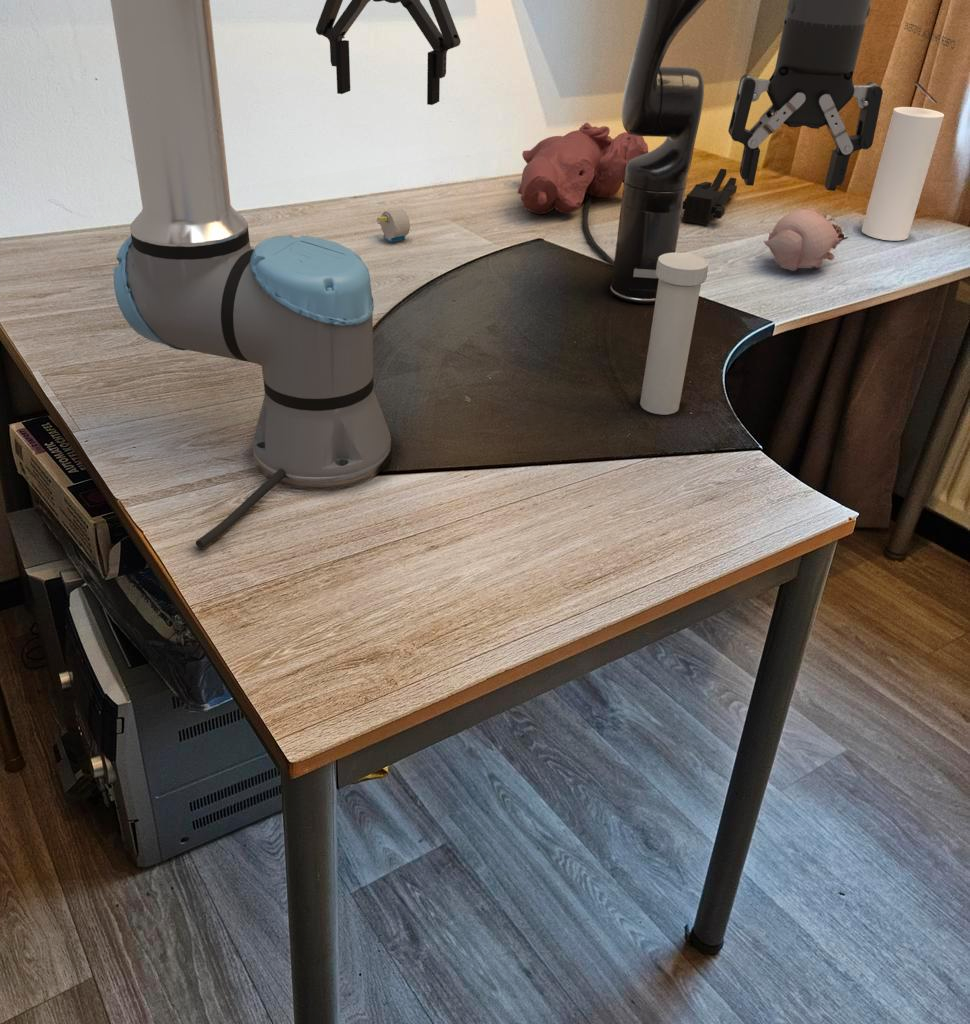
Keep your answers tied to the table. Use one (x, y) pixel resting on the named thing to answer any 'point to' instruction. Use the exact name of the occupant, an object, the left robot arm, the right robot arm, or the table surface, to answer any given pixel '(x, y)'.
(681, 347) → the jar
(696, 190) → the toy
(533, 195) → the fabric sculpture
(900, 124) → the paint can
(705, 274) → the lid
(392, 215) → the electric motor
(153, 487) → the table surface
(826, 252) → the toy
